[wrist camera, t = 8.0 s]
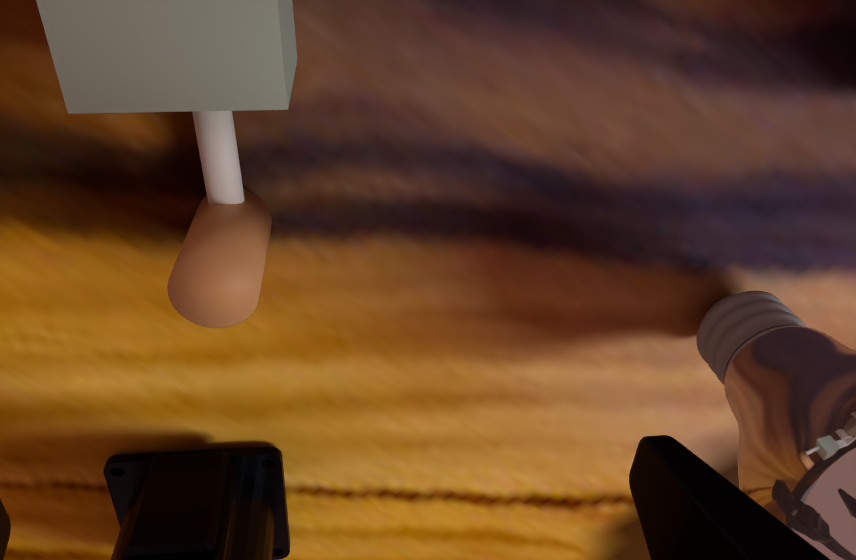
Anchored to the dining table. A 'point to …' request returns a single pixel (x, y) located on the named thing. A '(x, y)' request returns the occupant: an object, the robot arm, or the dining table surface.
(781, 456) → the light bulb
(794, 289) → the dining table surface
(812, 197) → the dining table surface
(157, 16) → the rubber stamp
